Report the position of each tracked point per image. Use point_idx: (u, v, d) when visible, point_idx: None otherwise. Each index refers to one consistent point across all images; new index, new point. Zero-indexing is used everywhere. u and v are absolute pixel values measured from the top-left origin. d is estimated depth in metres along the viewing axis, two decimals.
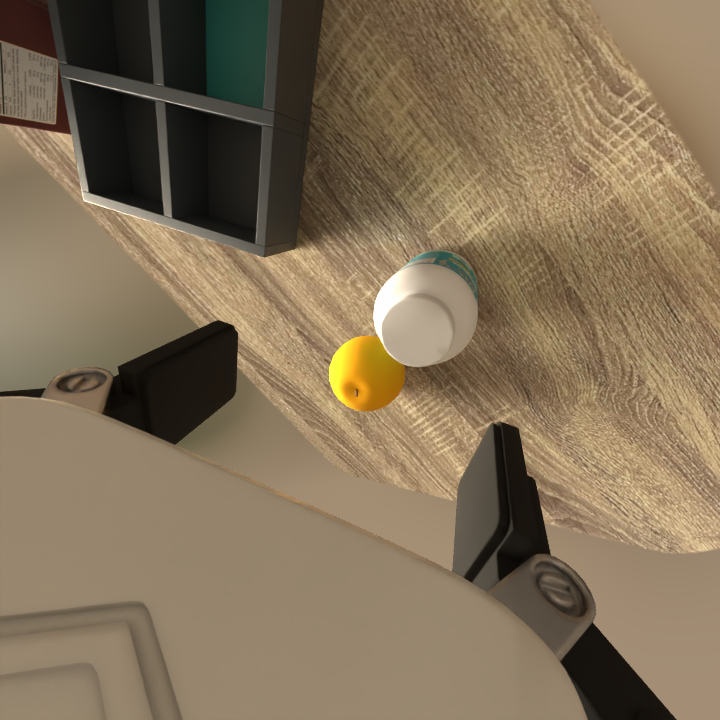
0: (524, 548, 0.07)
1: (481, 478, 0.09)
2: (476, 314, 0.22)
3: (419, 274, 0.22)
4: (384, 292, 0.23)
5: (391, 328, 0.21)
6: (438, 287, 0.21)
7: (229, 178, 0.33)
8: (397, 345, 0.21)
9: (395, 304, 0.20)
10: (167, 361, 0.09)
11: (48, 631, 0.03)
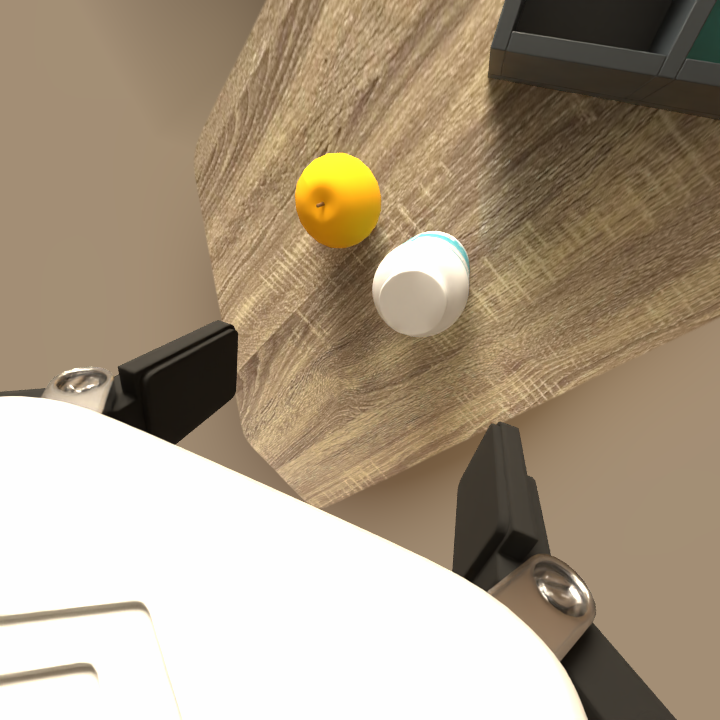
0: (524, 548, 0.07)
1: (481, 478, 0.09)
2: (423, 336, 0.27)
3: (461, 293, 0.24)
4: (446, 257, 0.23)
5: (416, 280, 0.22)
6: (449, 310, 0.24)
7: None
8: (399, 286, 0.22)
9: (440, 285, 0.21)
10: (167, 361, 0.09)
11: (48, 631, 0.03)
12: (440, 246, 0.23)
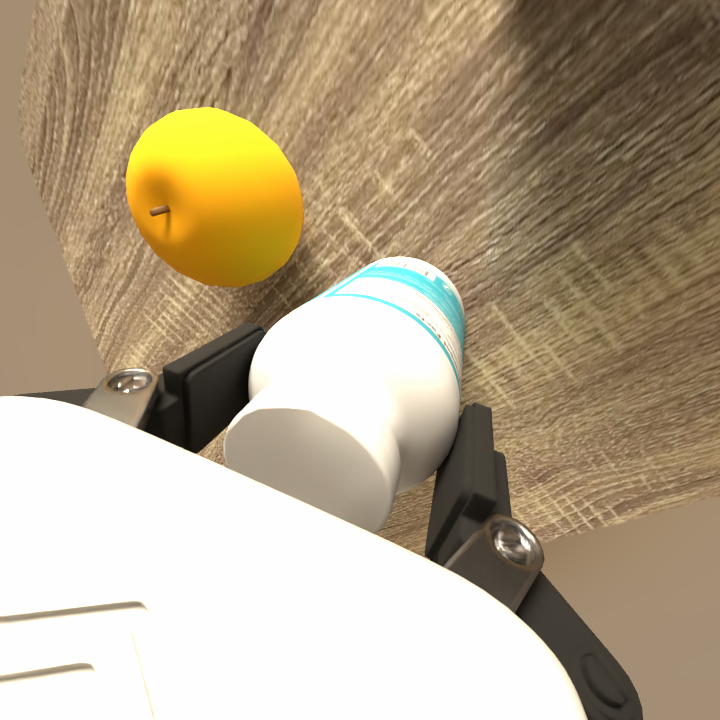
0: (485, 510, 0.07)
1: (454, 454, 0.10)
2: None
3: (441, 432, 0.10)
4: (398, 350, 0.09)
5: (304, 432, 0.08)
6: (412, 468, 0.10)
7: None
8: (264, 438, 0.08)
9: (370, 451, 0.07)
10: (206, 362, 0.09)
11: (48, 631, 0.03)
12: (387, 317, 0.09)
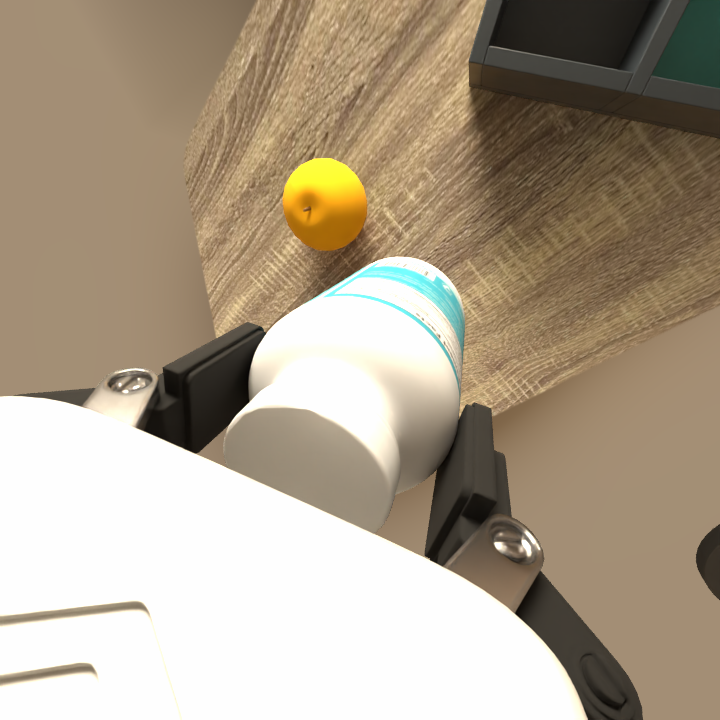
0: (485, 510, 0.07)
1: (454, 454, 0.10)
2: None
3: (440, 431, 0.10)
4: (398, 350, 0.09)
5: (304, 431, 0.08)
6: (412, 467, 0.10)
7: None
8: (264, 438, 0.08)
9: (370, 450, 0.07)
10: (206, 362, 0.09)
11: (49, 631, 0.03)
12: (386, 317, 0.09)
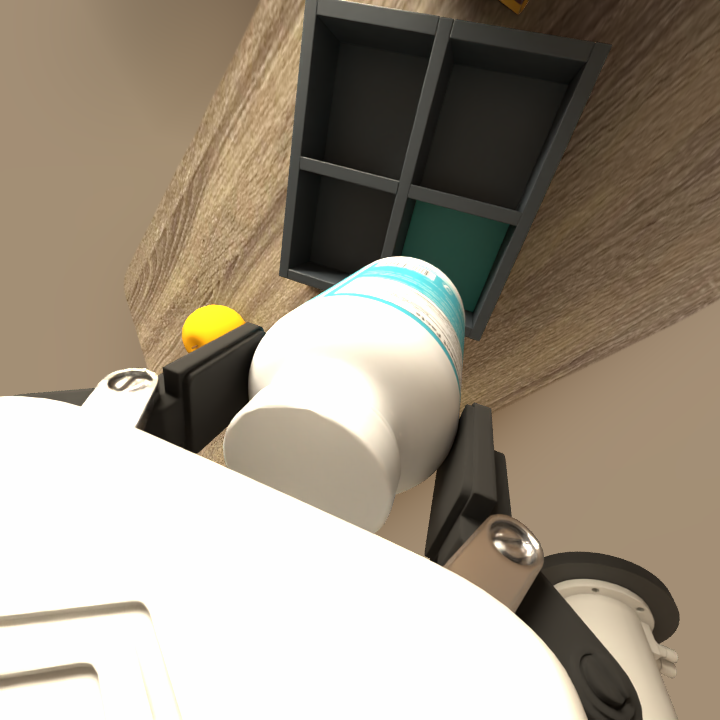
0: (485, 510, 0.07)
1: (454, 454, 0.10)
2: None
3: (440, 431, 0.10)
4: (398, 350, 0.09)
5: (303, 431, 0.08)
6: (412, 468, 0.10)
7: (354, 209, 0.34)
8: (264, 438, 0.08)
9: (370, 450, 0.07)
10: (206, 362, 0.09)
11: (48, 631, 0.03)
12: (386, 317, 0.09)
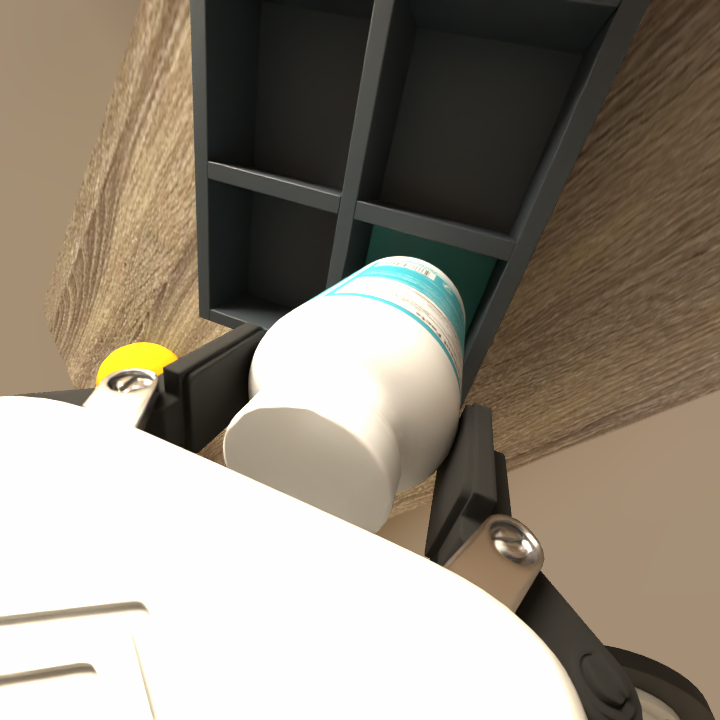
0: (485, 510, 0.07)
1: (454, 454, 0.10)
2: None
3: (441, 431, 0.10)
4: (398, 349, 0.09)
5: (303, 431, 0.08)
6: (413, 467, 0.10)
7: (298, 229, 0.26)
8: (264, 438, 0.08)
9: (370, 450, 0.07)
10: (206, 362, 0.09)
11: (48, 631, 0.03)
12: (387, 316, 0.09)
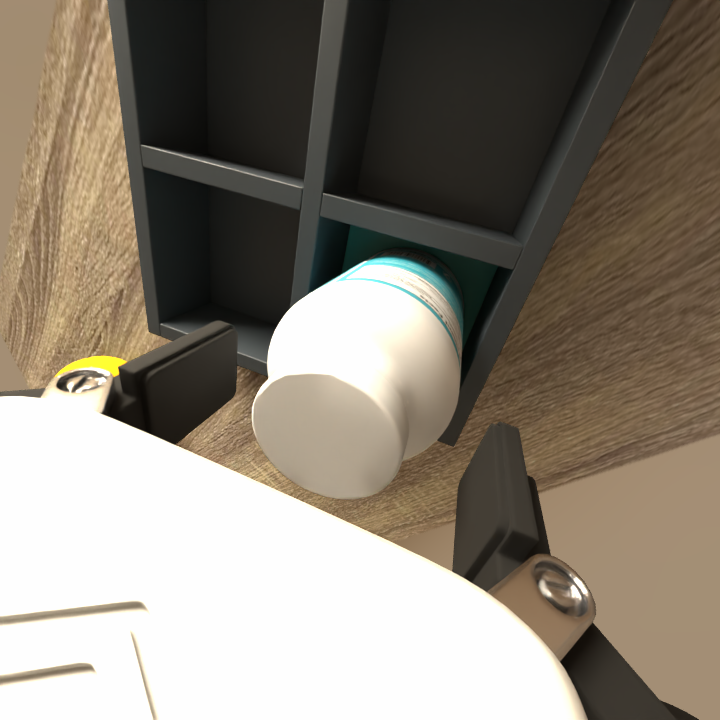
0: (524, 548, 0.07)
1: (481, 478, 0.09)
2: None
3: (443, 400, 0.11)
4: (405, 326, 0.10)
5: (325, 395, 0.09)
6: (418, 434, 0.11)
7: (263, 228, 0.22)
8: (289, 402, 0.09)
9: (384, 409, 0.08)
10: (167, 361, 0.09)
11: (48, 631, 0.03)
12: (395, 298, 0.10)
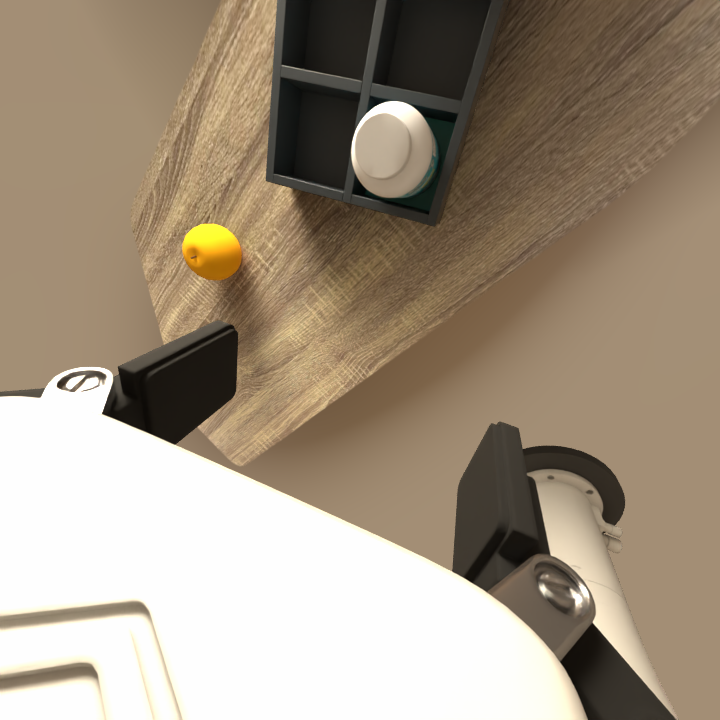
0: (524, 548, 0.07)
1: (481, 478, 0.09)
2: (395, 195, 0.31)
3: (425, 144, 0.28)
4: (410, 111, 0.27)
5: (384, 122, 0.26)
6: (415, 161, 0.29)
7: (330, 123, 0.39)
8: (370, 130, 0.27)
9: (403, 124, 0.26)
10: (167, 361, 0.09)
11: (48, 631, 0.03)
12: (406, 104, 0.28)
